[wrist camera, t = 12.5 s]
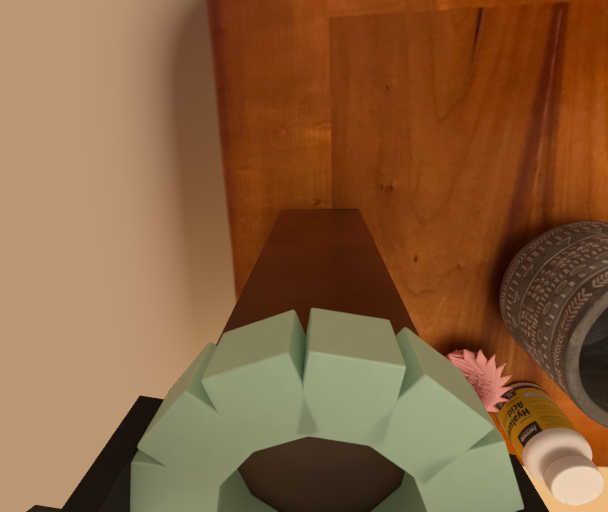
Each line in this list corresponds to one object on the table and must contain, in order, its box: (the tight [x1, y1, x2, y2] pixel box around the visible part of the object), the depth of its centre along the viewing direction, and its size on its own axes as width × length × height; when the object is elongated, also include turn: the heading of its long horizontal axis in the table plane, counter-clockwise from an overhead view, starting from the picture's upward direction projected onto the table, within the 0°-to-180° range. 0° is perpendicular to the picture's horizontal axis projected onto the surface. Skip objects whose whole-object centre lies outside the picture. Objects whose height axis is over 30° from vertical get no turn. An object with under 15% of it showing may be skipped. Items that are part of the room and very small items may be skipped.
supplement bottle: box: [494, 383, 605, 505], centre depth 35 cm, size 5×5×10 cm
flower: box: [444, 349, 513, 412], centre depth 36 cm, size 8×8×6 cm
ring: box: [130, 308, 524, 512], centre depth 12 cm, size 10×10×2 cm
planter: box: [499, 221, 608, 428], centre depth 30 cm, size 12×12×13 cm
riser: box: [216, 209, 420, 512], centre depth 24 cm, size 7×7×24 cm
